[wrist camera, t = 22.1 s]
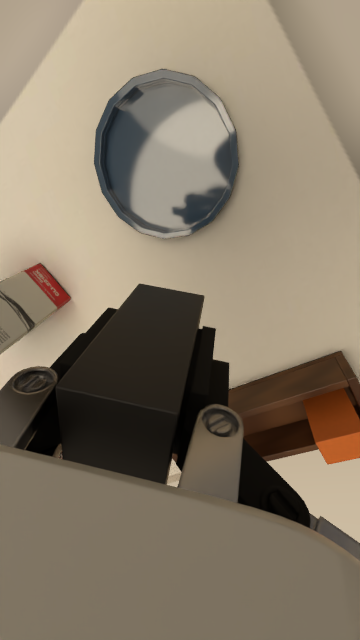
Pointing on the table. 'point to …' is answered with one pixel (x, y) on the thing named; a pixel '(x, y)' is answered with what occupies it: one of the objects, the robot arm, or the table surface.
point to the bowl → (166, 154)
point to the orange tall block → (334, 426)
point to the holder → (289, 405)
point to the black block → (131, 386)
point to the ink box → (27, 303)
